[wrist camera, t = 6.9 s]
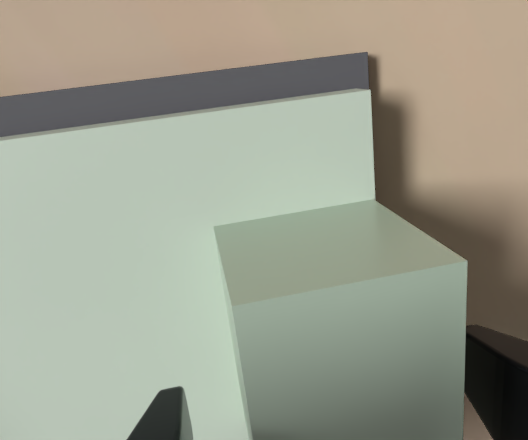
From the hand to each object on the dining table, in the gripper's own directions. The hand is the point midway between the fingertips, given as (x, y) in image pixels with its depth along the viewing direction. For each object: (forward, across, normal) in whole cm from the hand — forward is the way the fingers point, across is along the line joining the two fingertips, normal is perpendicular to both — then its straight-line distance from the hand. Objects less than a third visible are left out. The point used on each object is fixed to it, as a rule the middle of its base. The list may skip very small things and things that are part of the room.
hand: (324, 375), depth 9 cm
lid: (+3, +4, 0) cm, 5 cm away
